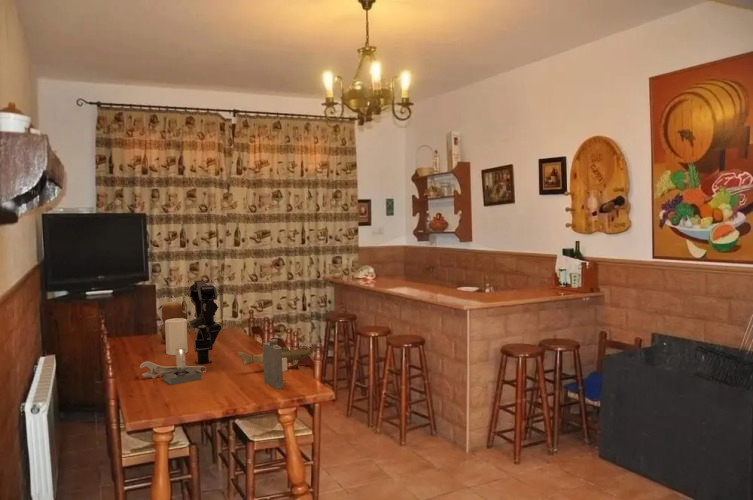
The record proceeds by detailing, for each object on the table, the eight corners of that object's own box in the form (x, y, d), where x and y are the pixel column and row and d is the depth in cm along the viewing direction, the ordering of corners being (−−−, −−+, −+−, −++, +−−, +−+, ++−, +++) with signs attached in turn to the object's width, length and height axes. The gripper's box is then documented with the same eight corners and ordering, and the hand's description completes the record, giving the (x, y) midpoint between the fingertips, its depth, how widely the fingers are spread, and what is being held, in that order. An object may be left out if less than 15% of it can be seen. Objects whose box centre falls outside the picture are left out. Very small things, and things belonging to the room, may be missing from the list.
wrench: (205, 378, 285) (138, 379, 272) (205, 377, 287) (138, 378, 274) (207, 361, 285) (140, 362, 272) (206, 360, 287) (140, 361, 274)
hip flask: (263, 381, 266) (261, 337, 265) (271, 380, 268) (270, 336, 267) (277, 390, 252) (275, 343, 251) (286, 388, 255) (284, 342, 253)
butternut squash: (176, 339, 365) (175, 299, 363) (190, 341, 357) (188, 300, 355) (157, 343, 353) (155, 302, 352) (170, 346, 346) (168, 303, 344)
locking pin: (177, 378, 274) (176, 348, 273) (186, 377, 275) (185, 348, 274) (176, 381, 270) (175, 350, 269) (185, 380, 271) (184, 349, 270)
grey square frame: (162, 379, 273) (161, 373, 273) (191, 374, 282) (191, 367, 281) (170, 385, 264) (170, 378, 263) (201, 379, 272) (201, 372, 272)
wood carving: (236, 372, 282) (235, 349, 281) (307, 364, 296) (306, 341, 295) (240, 377, 274) (239, 353, 273) (313, 368, 288) (312, 345, 287)
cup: (161, 354, 324) (160, 321, 323) (175, 350, 335) (174, 317, 334) (178, 356, 320) (176, 322, 319) (191, 351, 330) (190, 318, 329)
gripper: (184, 311, 291) (185, 342, 292) (198, 315, 276) (199, 348, 277) (206, 308, 298) (207, 339, 299) (221, 312, 283) (222, 345, 284)
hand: (208, 343), depth 289 cm, fingers open, 9 cm apart
